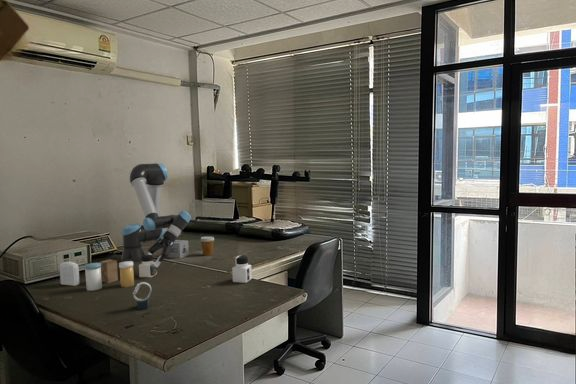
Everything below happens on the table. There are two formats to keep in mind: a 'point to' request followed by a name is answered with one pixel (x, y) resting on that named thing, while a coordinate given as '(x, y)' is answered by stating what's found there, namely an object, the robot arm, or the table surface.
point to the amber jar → (126, 273)
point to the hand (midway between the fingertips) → (149, 264)
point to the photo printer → (69, 273)
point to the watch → (142, 302)
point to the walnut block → (109, 271)
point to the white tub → (93, 276)
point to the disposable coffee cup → (207, 245)
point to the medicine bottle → (147, 266)
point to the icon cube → (179, 249)
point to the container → (242, 270)
